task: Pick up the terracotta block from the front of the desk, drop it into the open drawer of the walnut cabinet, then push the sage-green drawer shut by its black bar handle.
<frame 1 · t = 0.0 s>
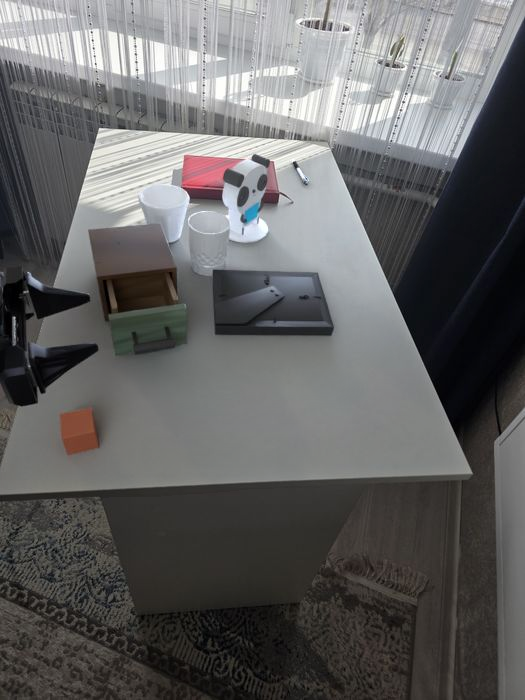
hand: (93, 321, 58), 15 cm above the table, tool horizontal, fingers open, 9 cm apart
pen: (300, 174, 127), on the table
picture frame: (269, 306, 87), on the table
panda figurine: (241, 229, 105), on the table
cup: (165, 236, 99), on the table
block: (82, 439, 64), on the table
white cup: (208, 267, 94), on the table
drawer: (145, 315, 75), point 5 cm above the table, slide at 8.0 cm
cabinet: (135, 291, 86), on the table
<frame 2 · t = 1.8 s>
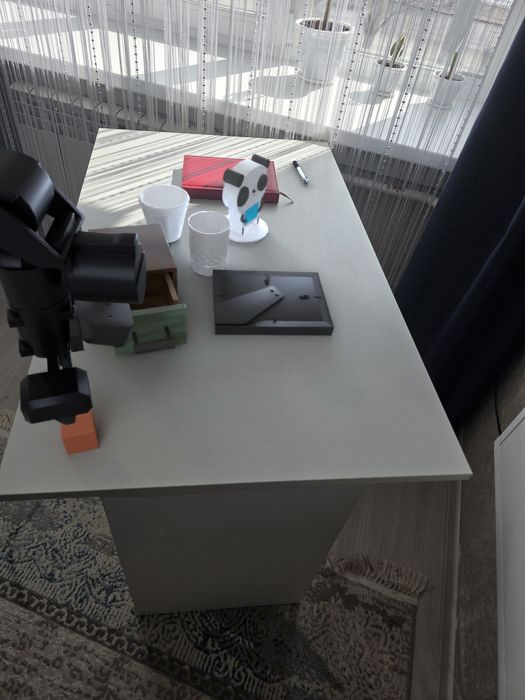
hand: (67, 392, 56), 10 cm above the table, tool pointing down, fingers open, 9 cm apart
nothing on the table moved.
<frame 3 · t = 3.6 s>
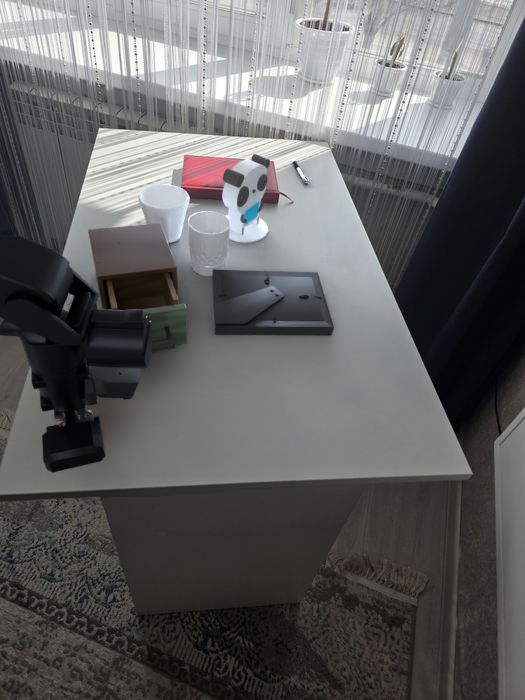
hand: (80, 435, 63), 1 cm above the table, tool pointing down, fingers closed on block, 4 cm apart
block: (82, 439, 64), on the table, touching gripper
everything else where it was.
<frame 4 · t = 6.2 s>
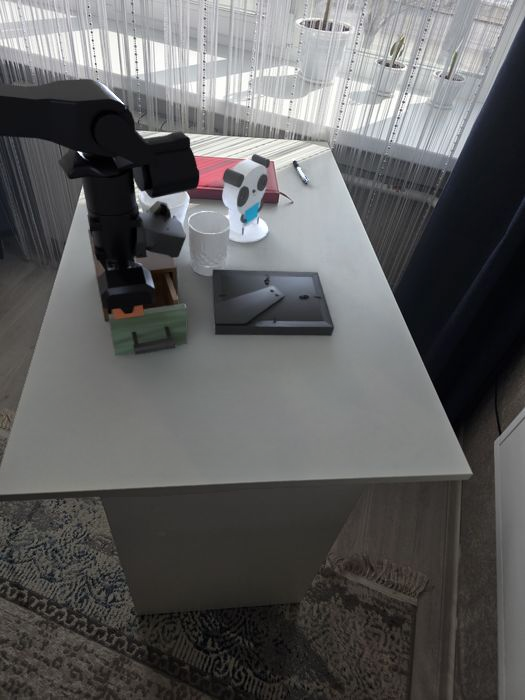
hand: (126, 303, 67), 11 cm above the table, tool pointing down, fingers closed on block, 4 cm apart
block: (127, 308, 67), point 10 cm above the table, touching gripper
everything else where it was.
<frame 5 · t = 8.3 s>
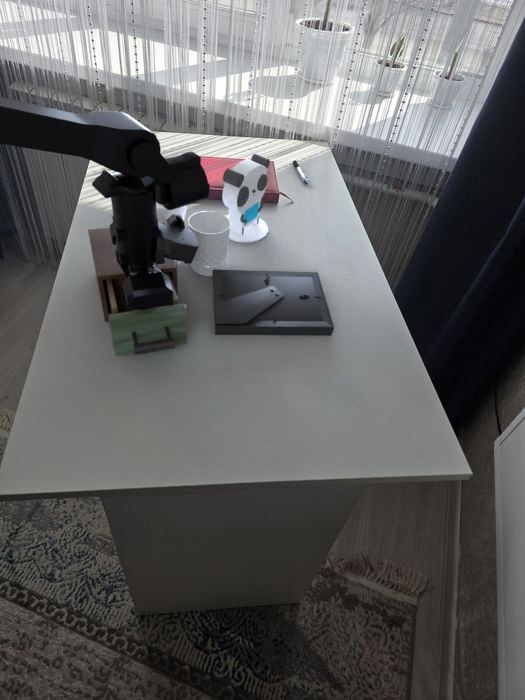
hand: (143, 304, 75), 6 cm above the table, tool pointing down, fingers closed on block, 4 cm apart
block: (144, 308, 75), point 5 cm above the table, touching gripper
everything else where it was.
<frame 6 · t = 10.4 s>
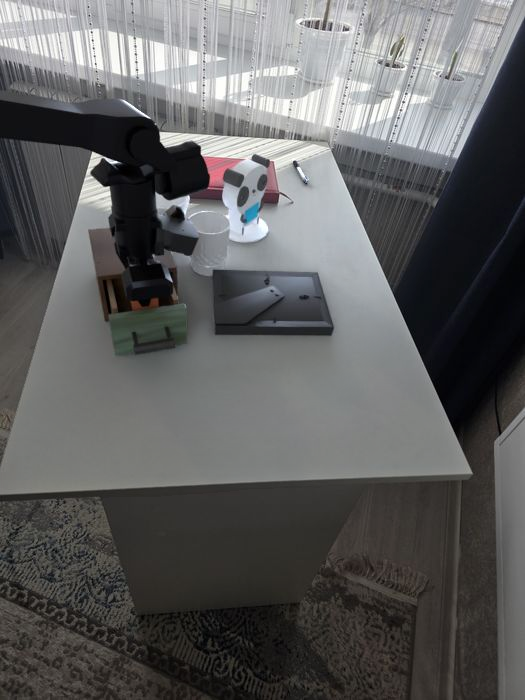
hand: (142, 297, 73), 8 cm above the table, tool pointing down, fingers closed on block, 4 cm apart
block: (143, 301, 74), point 7 cm above the table, touching gripper
everything else where it was.
when the fingers open (10 cm above the table, at t = 22.8 s): block drops 7 cm, resting on drawer.
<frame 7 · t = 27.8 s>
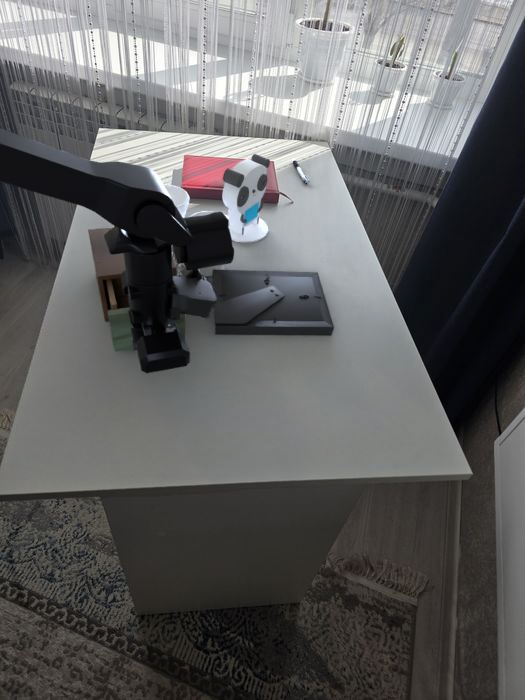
hand: (156, 356, 70), 4 cm above the table, tool pointing down, fingers closed
block: (145, 319, 78), point 2 cm above the table, touching drawer
drawer: (144, 311, 75), point 5 cm above the table, slide at 7.1 cm, touching block, gripper
everything else where it was.
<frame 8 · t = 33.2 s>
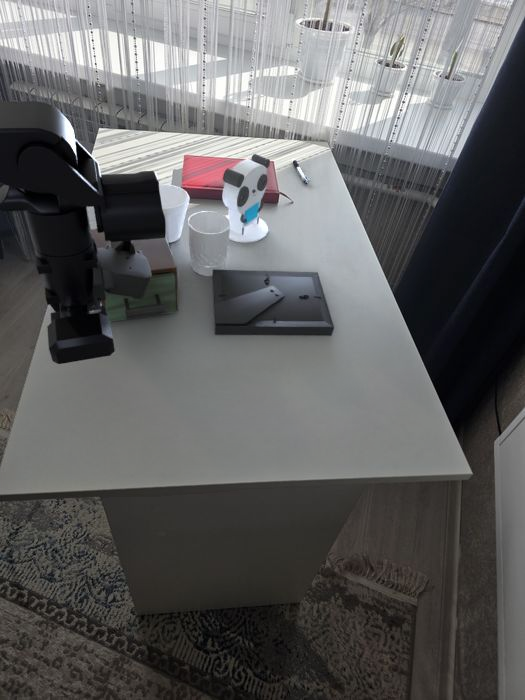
hand: (87, 346, 59), 12 cm above the table, tool pointing down, fingers closed
block: (138, 292, 83), point 2 cm above the table, touching drawer
drawer: (137, 284, 80), point 5 cm above the table, slide at 0.0 cm, touching block, cabinet
everything else where it was.
at the end: block inside the target area in the cabinet (2.8 cm from its centre), point 2.0 cm above the cabinet's base; drawer slide at 0.0 cm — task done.
